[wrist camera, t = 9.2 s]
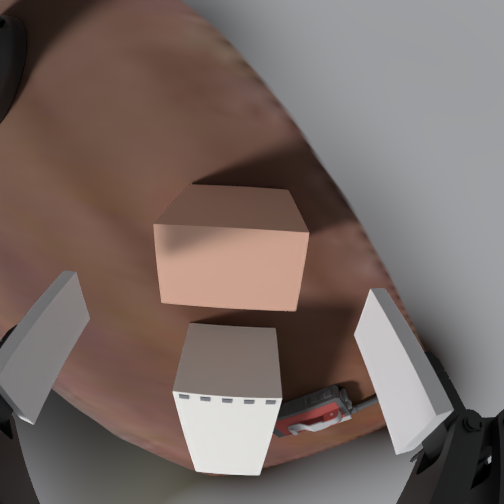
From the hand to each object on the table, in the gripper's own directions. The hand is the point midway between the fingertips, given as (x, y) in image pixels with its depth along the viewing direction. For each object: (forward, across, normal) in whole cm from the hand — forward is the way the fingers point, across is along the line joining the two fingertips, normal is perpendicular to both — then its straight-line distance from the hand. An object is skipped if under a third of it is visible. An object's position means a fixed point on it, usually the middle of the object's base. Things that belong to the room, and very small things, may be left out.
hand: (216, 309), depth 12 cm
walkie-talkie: (+13, +15, -28) cm, 34 cm away
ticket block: (+13, 0, -24) cm, 27 cm away
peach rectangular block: (+13, 0, 0) cm, 13 cm away
